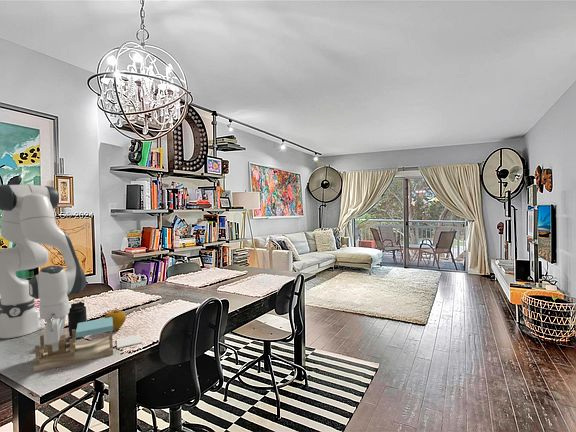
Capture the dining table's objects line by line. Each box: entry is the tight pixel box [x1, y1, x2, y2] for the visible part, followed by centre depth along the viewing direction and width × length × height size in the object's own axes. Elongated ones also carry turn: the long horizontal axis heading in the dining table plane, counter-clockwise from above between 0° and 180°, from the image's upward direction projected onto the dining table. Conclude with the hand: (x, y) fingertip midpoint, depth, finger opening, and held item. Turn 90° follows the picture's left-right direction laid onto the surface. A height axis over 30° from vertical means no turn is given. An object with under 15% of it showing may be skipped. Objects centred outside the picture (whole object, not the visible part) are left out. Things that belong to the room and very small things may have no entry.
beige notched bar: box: [33, 329, 114, 373], centre depth 122 cm, size 14×24×8 cm, turn 120°
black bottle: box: [67, 301, 88, 339], centre depth 140 cm, size 7×7×15 cm
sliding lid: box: [76, 317, 114, 339], centre depth 125 cm, size 11×12×2 cm
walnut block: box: [46, 334, 67, 357], centre depth 119 cm, size 5×5×6 cm
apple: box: [104, 309, 127, 331], centre depth 146 cm, size 9×9×9 cm
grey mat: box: [116, 334, 143, 350], centre depth 133 cm, size 9×9×1 cm
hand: (56, 347), depth 119 cm, fingers closed on walnut block, 5 cm apart
